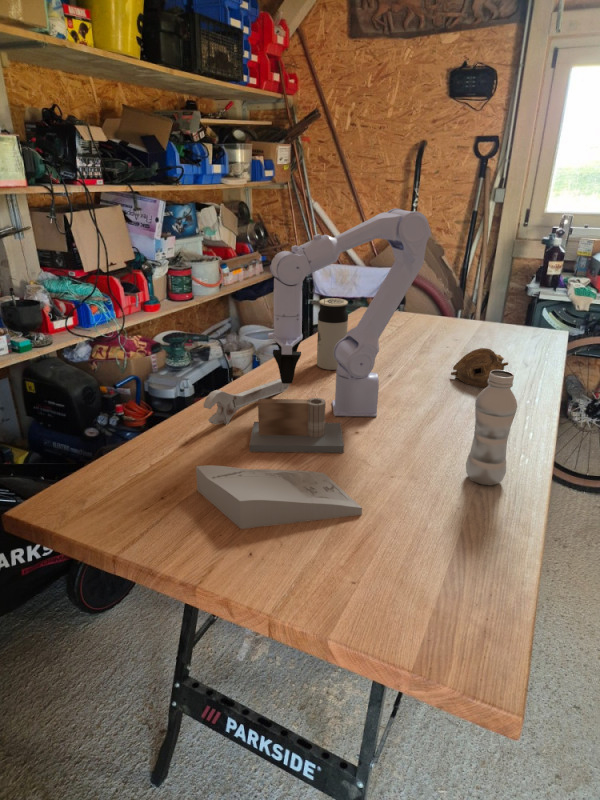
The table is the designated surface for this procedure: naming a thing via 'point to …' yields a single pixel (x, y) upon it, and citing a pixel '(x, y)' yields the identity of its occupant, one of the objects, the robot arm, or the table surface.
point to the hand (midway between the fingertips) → (287, 376)
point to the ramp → (273, 495)
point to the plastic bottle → (492, 429)
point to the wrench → (239, 400)
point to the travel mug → (330, 330)
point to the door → (292, 417)
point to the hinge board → (299, 441)
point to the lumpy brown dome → (478, 367)
